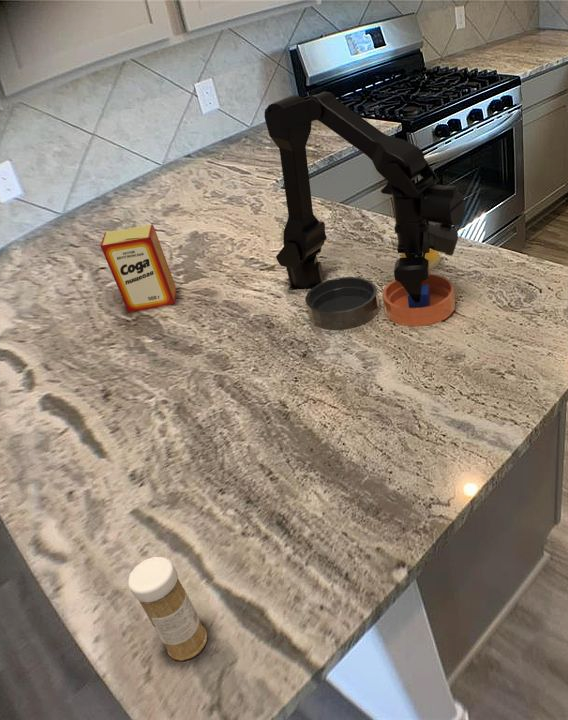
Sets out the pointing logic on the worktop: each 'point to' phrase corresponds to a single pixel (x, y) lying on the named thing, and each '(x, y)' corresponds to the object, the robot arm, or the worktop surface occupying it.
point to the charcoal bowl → (342, 303)
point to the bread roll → (430, 258)
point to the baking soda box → (139, 267)
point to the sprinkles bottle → (168, 607)
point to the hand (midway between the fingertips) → (418, 290)
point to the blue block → (421, 298)
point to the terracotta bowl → (437, 311)
